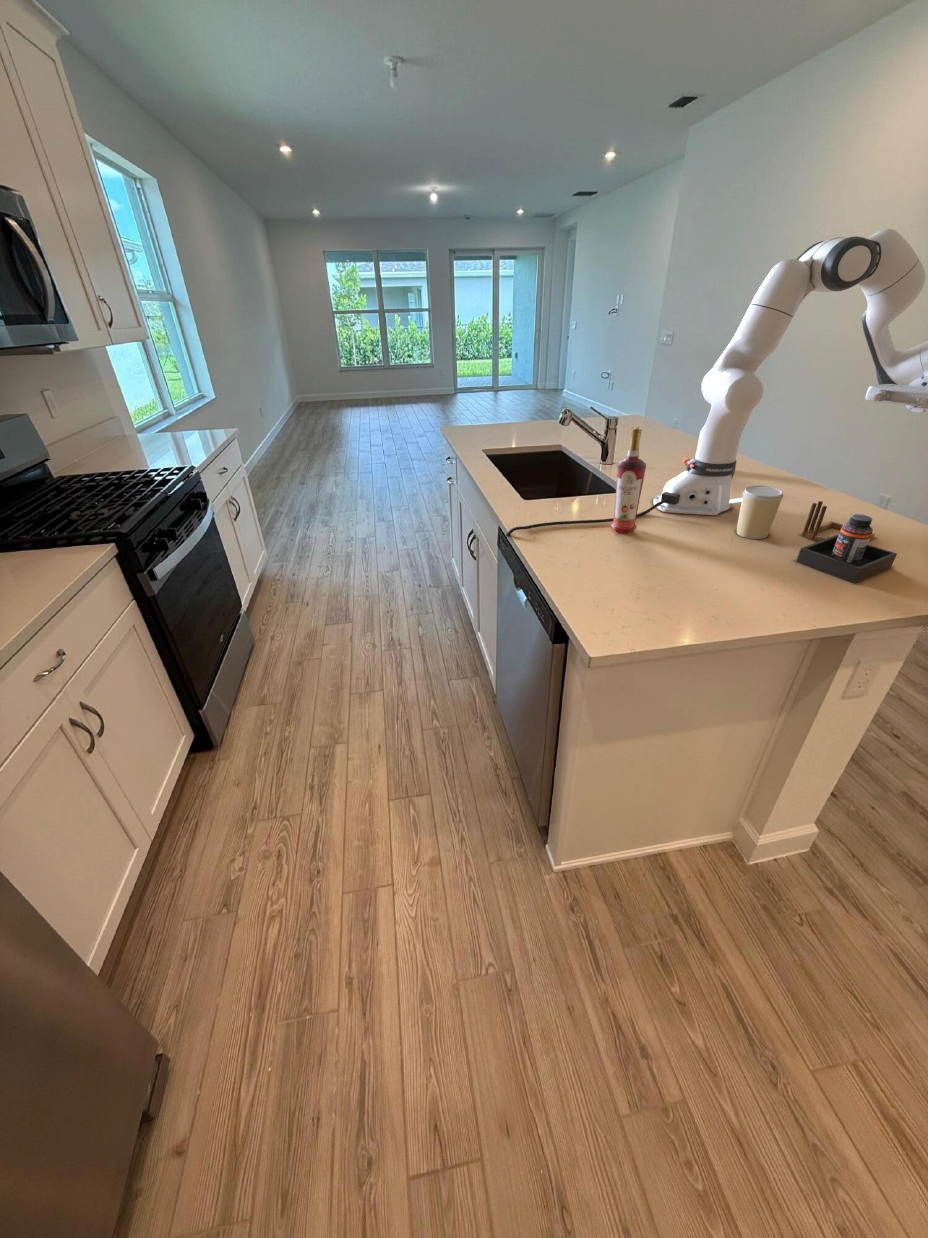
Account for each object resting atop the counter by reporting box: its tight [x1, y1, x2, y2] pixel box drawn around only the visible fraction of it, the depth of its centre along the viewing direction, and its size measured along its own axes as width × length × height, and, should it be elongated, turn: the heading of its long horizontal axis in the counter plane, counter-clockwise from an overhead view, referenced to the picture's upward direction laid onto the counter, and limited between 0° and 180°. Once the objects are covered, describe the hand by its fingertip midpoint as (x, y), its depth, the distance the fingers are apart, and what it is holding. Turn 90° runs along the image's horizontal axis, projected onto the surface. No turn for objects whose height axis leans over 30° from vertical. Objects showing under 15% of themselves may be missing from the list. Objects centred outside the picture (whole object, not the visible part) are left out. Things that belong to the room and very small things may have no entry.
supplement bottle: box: [831, 513, 874, 566], centre depth 118 cm, size 6×6×11 cm
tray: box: [795, 534, 898, 584], centre depth 120 cm, size 15×14×4 cm
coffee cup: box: [736, 485, 784, 540], centre depth 135 cm, size 9×9×12 cm
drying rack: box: [801, 500, 875, 542], centre depth 132 cm, size 13×11×9 cm
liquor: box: [611, 426, 647, 535], centre depth 137 cm, size 7×7×28 cm
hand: (897, 399), depth 125 cm, fingers open, 8 cm apart
